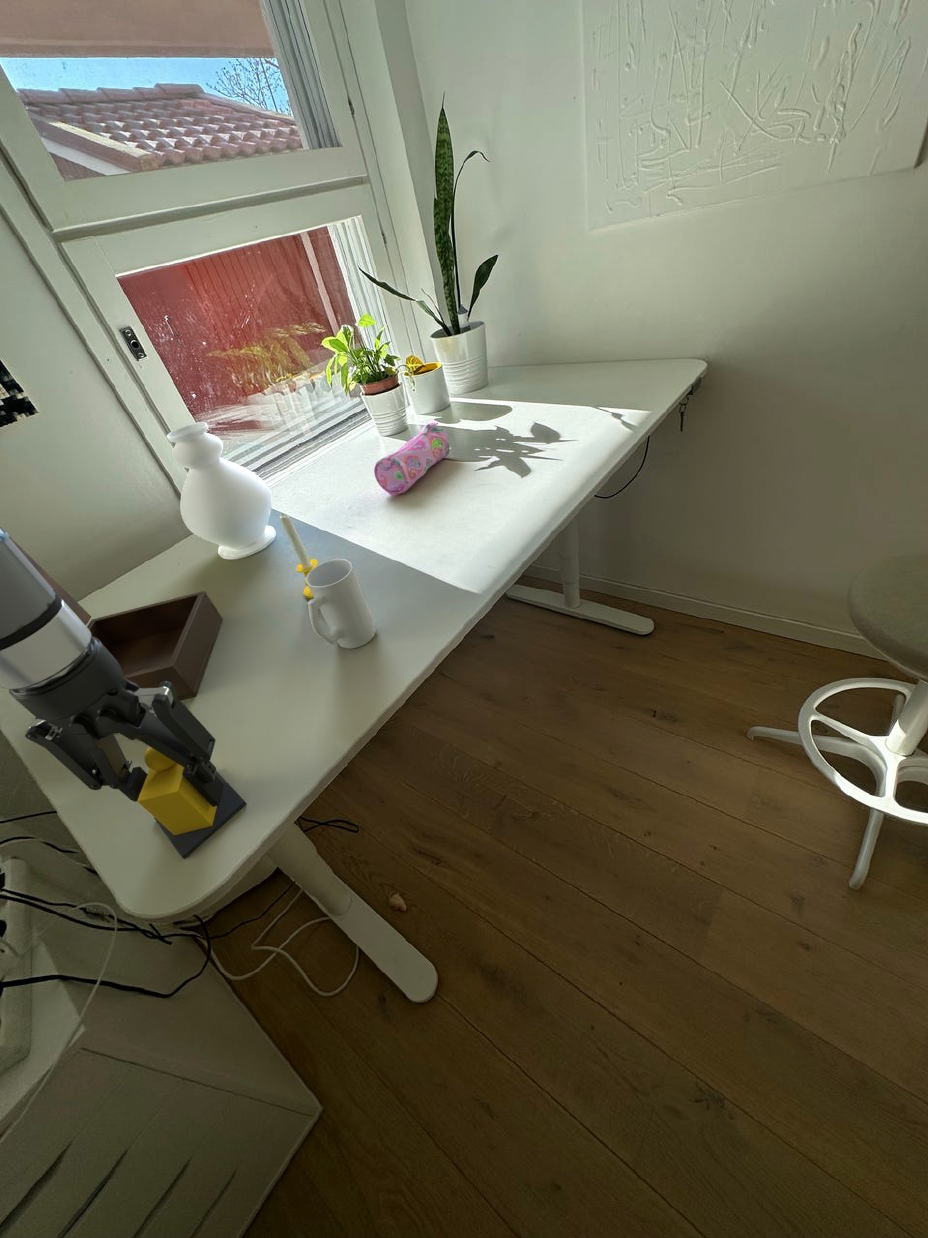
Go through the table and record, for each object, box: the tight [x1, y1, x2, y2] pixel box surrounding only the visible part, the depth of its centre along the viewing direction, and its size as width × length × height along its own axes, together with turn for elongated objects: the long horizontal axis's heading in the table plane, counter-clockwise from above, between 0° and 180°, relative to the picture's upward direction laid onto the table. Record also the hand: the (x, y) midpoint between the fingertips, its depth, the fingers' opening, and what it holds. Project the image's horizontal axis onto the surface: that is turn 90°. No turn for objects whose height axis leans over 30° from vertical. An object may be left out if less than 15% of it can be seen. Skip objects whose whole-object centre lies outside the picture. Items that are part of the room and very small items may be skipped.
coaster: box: [153, 770, 247, 860], centre depth 61 cm, size 8×8×1 cm
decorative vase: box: [166, 421, 277, 560], centre depth 105 cm, size 18×18×25 cm
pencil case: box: [373, 422, 451, 496], centre depth 119 cm, size 21×9×9 cm, turn 151°
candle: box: [278, 513, 319, 600], centre depth 88 cm, size 5×5×16 cm
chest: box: [86, 590, 224, 701], centre depth 82 cm, size 20×19×6 cm
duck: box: [137, 746, 217, 835], centre depth 58 cm, size 4×7×10 cm, turn 9°
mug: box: [305, 558, 377, 649], centre depth 76 cm, size 10×7×12 cm, turn 156°
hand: (192, 802), depth 60 cm, fingers open, 6 cm apart
